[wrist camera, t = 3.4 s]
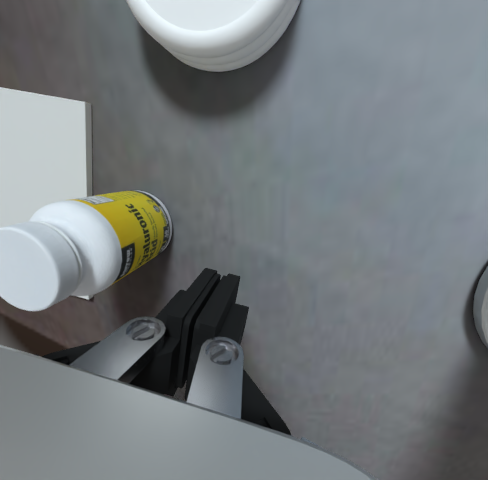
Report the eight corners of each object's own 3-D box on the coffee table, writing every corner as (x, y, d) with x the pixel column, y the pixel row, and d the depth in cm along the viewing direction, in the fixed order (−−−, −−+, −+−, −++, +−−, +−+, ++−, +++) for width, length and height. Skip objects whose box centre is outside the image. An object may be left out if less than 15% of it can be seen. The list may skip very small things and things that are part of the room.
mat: (91, 104, 18) (84, 102, 18) (93, 296, 23) (88, 299, 23) (-56, 78, 20) (-66, 75, 20) (-25, 262, 25) (-32, 265, 25)
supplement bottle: (178, 257, 21) (82, 332, 11) (118, 254, 22) (-14, 321, 12) (171, 188, 19) (55, 211, 10) (107, 188, 20) (-52, 210, 11)
